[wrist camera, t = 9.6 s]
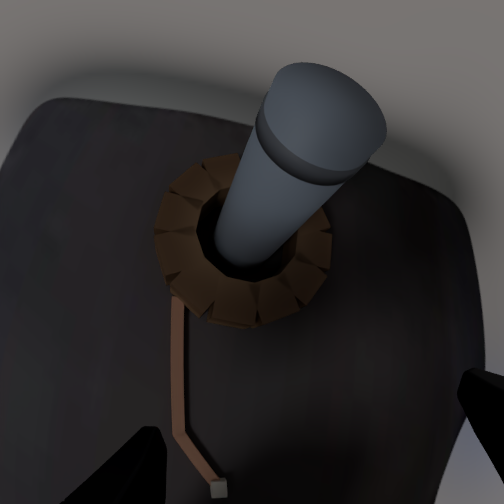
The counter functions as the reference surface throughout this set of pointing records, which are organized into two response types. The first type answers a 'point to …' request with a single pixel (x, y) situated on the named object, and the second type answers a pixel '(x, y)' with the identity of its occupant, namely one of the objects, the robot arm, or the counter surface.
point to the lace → (177, 403)
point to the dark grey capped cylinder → (295, 161)
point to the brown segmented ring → (215, 282)
